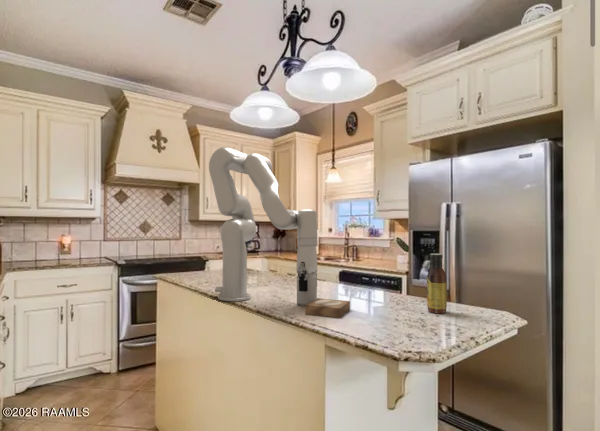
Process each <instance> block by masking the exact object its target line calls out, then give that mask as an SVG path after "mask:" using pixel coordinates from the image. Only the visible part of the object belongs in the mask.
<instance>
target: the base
mask: <svg viewBox="0 0 600 431" xmlns="http://www.w3.org/2000/svg"><path fill="white" fill-rule="evenodd" d="M350 310H351V301H350V300H344V299H342V300H341V299H329V298H320V297H319V298H317V299H315V300H313V301H311V302H310V303H308V304H306V305H305V306H304V315H311V316H319V317H331V318H342V317H343V316H345V314H346V313H348V312H349V311H350Z"/></svg>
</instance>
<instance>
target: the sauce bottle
mask: <svg viewBox="0 0 600 431" xmlns="http://www.w3.org/2000/svg"><path fill="white" fill-rule="evenodd" d="M429 259H430V266H429V270H428V273H427V275H426V297H427V298H426V307H427V310H428V312H429V313H432V314H446V313H447V306H448V304H447V303H448V302H447V276H446V275H447V274H446V272H445V270H444V269H443V253H430V254H429Z"/></svg>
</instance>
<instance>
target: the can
mask: <svg viewBox="0 0 600 431" xmlns="http://www.w3.org/2000/svg"><path fill="white" fill-rule="evenodd" d="M304 276H305V275H304ZM307 280H308V291H307V292H305V291H299V280H298V275H296V303H297V304H298V305H299V306H302V307H305V305H306V304H308V303H310V302H311V301H313V300H315V299H317V296H318V295H317V293H318V275H317V276H316V275H315V272H314V273H310V274H308V276H307Z"/></svg>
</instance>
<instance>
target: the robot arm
mask: <svg viewBox="0 0 600 431" xmlns="http://www.w3.org/2000/svg"><path fill="white" fill-rule="evenodd" d="M208 171H209V176H210V180H211V182H212V187H213V192H214V195H215V196H214V197H215V199H216V200H215V201H216V205H217V208H218V211H219V212H220V214H221V215H222V216H224V217H225V216H226V217H232V218H230V219H228V220H226V221H225V222H224V223H223V224H222V225H221V227H220V239H221V246H222V279H221V280H222V286H216V287H215V289H214V292H215V293H219V295H217V297H218V298H217V299H218V300H219V301H223V302H242V301H247V300H249V299H251V297H252V296H251V294H250V293H247V292H248V290H247V288H248V287H247V286H248V275H247V274H248V250H247V245H246V242H249V241H252V240H253V239H254V238H255V236H256V234H257V224H256V222H255V216H254V212H253V210H252V205H251V202H250V201H249V199H248V198H247V197H246V196H245V195H243V194H239V193H238V192H237V188H236V185H235V184H236V183H235V180H234V178H233V176H232V175H231V174H232V173H231V172H230V171H232V172H235V173H239V174H244V175H247V176H248V178H250V180H251V182H252V183H253V185H254V186H255V188H256V190H257V191H258V194H259V196H260V197H259V198H260V201H261V202H260V203H261V205H262V208H263V211H264V212H265V214H266V216H267V217H268V219H269V221H270V223H271V224H272V225H273V226H274V227H275V228H277V229H278V230H296V235H297V236H296V237H297V238H296V239H297V251H296V252H297V254H296V273H297V276H298V280H299V291H305V292H307V291H308V280H307V276H308V274H310V273H314V272H315V275H316V276H317V277H318V273H317V272H318V253H317V251H318V250H317V247H319V245H318V241H319V238H318V212H317V211H316V210H315V209H299V210H294V209H287V208H286V206H285V204H284V203H283V201H282V200H281V197H280V196H279V187H280V183H279V181H278V180H277V177H275V175H274V173H273V164H272V161H271V160H270V159H269V158H268V157H265V156H263V155H261V154H259V153H250V154H249V153H245V152H241V151H239V150H236V149H234V148H231V147H227V146H225V147H224V146H223V147H219V148H217V149H216V150H214V152H213V153H212V155H211V156H210V158H209V161H208ZM304 275H305V276H304Z"/></svg>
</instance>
